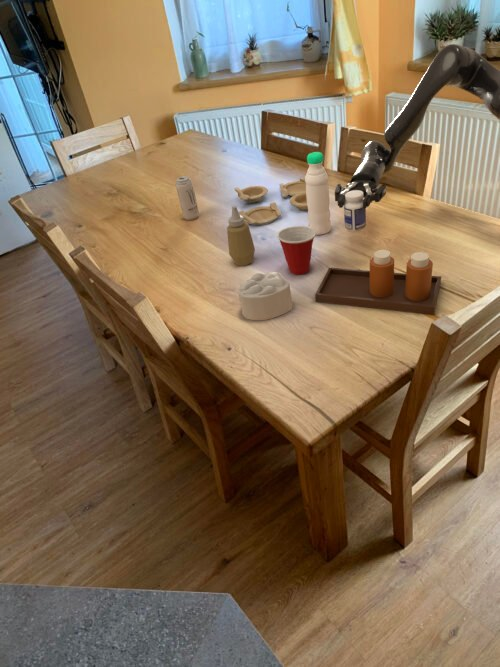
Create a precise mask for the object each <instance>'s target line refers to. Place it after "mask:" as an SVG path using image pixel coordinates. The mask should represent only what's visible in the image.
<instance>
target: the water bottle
mask: <svg viewBox="0 0 500 667" xmlns="http://www.w3.org/2000/svg"><path fill="white" fill-rule="evenodd" d="M306 162H307V165H308V168H307V172H306V174H305V177H304V178H305V182H306V197H307V206H308V210H307V218H308V227H310V228H312V229H314V230H315V231H316V235H315V236H321V235H325V234H328V233H329V232H330V231H331V230H332V222H331V210H330V188H329V175H328V173H327V171H326V168H325V167H324V166H323V163H324V154H323V153H322V152H320V151H314V152H310V153H308V155H307V156H306Z"/></svg>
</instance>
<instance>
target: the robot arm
mask: <svg viewBox="0 0 500 667" xmlns="http://www.w3.org/2000/svg"><path fill="white" fill-rule="evenodd" d="M445 86H448V87H453V88H456V89H460V90H462V91H465V92H467V93H469V94H471V95H474V96H475V97H476V98H478V99H480V100H481V101H482V102H483V104H484V105H485V107H486V108H487V110H488V111H489V112H490V114H491V115H492V116H493V117H495V118H496V119H497V120H499V121H500V69H499V68H498V67H496V66H495V65H493V64H491V63H490V62H489V61H488V60H487V59H486V58H484V57H483V56H482V55H481V54H480V53H479V52H477V51H476V50H475V49H472V48H470V47H467V46H463V45H460V44H455V43H450V44H447V45H445V46H443V47H442V48H441V49H440V50H439V51H438V52H437V53H436V55H435V56H434V58H433V59H432V61H431V63H430V64H429V66H428V68H427V70H426V71H425V73H424V74H423V76H422V78H421V79H420V81H419V82H418V84H417V86H416V88H415V89H414V91H413V93H412V95H411V96H410V98H409V100H408V101H407V102H406V104H405V105H404V107H403V108H402V110H401V111H400V112H399V113H398V115H397V116H396V117H395V118H394V119H393V121H392V122H391V123H390V124H389V125H388V127H387V128H386V130H385V131H384V133H383V138H384V140H385V142H386V143H387V145H388V146H389V147H390V149H389V148H388V147H386V146H385V144H383V143H382V142H380V141H379V140H371V141H369V142H367V144H366V145H365V146H364V147H363V149H362V151H361V153H360V154H361V155H360V165H359V166H358V167H357V169H355V172H354V174H353V175H352V176H351V179H350V180H349V183H347V184H346V186H342V185H341V183H337V184H336V185H335V189H334V201H335V202H337V207H338V208H339V209H342V208H344V203H345V201H346V199H345V194H346V193H347V192H349V191H353V190H360V191H362V192H363V196H364V197H363V208H366V209H367V208H368V207H370V205H371V204H372V203H373V202H374V203H379V202H380V201H381V200H382V199H383V198H384V197H385V195H386V194H387V184H381V181H382V178H383V175H386V174H387V173H390V171H391V170H392V169H393V168H394V166H395V164H396V161H397V159H398V157H399V156H400V154H401V151H402V150H403V148H404V147H405V145H406V143H408V141H409V140H410V139H411V138H412V137H413V136H414V135H415V133H416V132H417V131H418V130H419V129H420V127H421V126H422V123H423V121H424V119H425V117H426V113H427V110H428V108H429V106H430V104H431V102H432V101H433V99H434V98H435V96H437V94H439V92H440V91H442V90H443V89H444V87H445ZM380 184H381V185H380Z"/></svg>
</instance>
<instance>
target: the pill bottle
mask: <svg viewBox="0 0 500 667" xmlns="http://www.w3.org/2000/svg"><path fill="white" fill-rule="evenodd" d="M363 197H364V196H363V192H362V191H360V190H353V191H349V192H347V193H346V194H345V199H346V201H345V203H344V205H343V218H344V229H345V230H346V231H347V232H350V233H359V232H362V231H364V230H365V229H366V227H367V207H366V208H363V200H364V198H363Z"/></svg>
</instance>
